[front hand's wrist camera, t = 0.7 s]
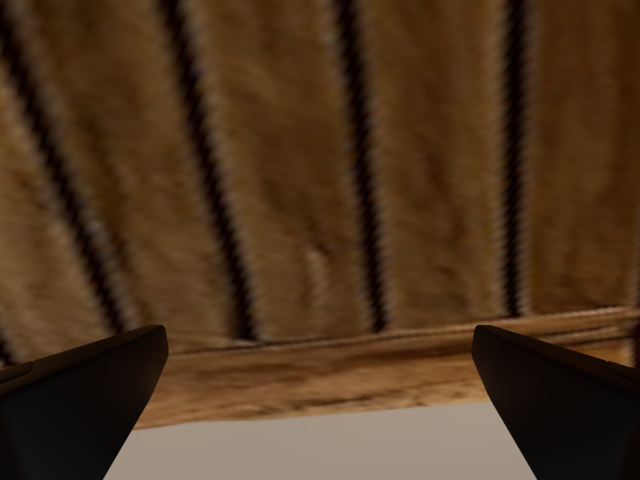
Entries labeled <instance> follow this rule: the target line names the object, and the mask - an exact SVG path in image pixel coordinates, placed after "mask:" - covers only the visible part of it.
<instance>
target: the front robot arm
mask: <svg viewBox="0 0 640 480" xmlns="http://www.w3.org/2000/svg"><path fill="white" fill-rule="evenodd" d="M168 353H169V350H168V343H167V336H166V330H165V327H164V326H163V325H148V326H145V327H142V328H138V329H135V330H132V331H129V332H125V333H122V334H119V335H116V336H112V337H109V338H106V339H103V340H99V341H96V342H93V343H90V344H86V345H83V346H80V347H77V348H73V349H70V350H67V351H64V352H60V353H57V354H54V355H51V356H47V357H44V358H41V359H38V360H35V361H34V362H32V361H29V362H26V363H23V364H20V365H16V366H13V367H9V368H6V369H3V370H0V480H103V479H104V477H105V475H106V473H107V472H108V470H109V468H110V467H111V465H112V463H113V461H114V460H115V458H116V456H117V455H118V453H119V451H120V449H121V448H122V446H123V444H124V443H125V441H126V439H127V437H128V436H129V434H130V432H131V431H132V429H133V427H134V425H135V424H136V422H137V420H138V419H139V417H140V415H141V413H142V412H143V410H144V408H145V407H146V405H147V403H148V401H149V400H150V398H151V396H152V394H153V391H154V389H155V387H156V384H157V382H158V380H159V377H160V375H161V373H162V370H163V368H164V366H165V363H166V361H167V358H168ZM471 353H472V358H473V361H474V363H475V366H476V368H477V370H478V373H479V375H480V377H481V380H482V382H483V385H484V387H485V389H486V391H487V394H488V396H489V398H490V400H491V401H492V403H493V405H494V407H495V408H496V410H497V412H498V413H499V415H500V417H501V419H502V420H503V422H504V424H505V425H506V427H507V429H508V431H509V432H510V434H511V436H512V437H513V439H514V441H515V443H516V444H517V446H518V448H519V449H520V451H521V453H522V455H523V456H524V458H525V460H526V461H527V463H528V465H529V467H530V468H531V470H532V472H533V473H534V475H535V477H536V479H537V480H640V370H637V369H634V368H631V367H627V366H624V365H620V364H617V363H614V362H611V361H608V362H606V361H605V360H602V359H599V358H596V357H593V356H589V355H586V354H583V353H580V352H576V351H573V350H570V349H567V348H563V347H560V346H557V345H554V344H550V343H547V342H544V341H541V340H537V339H534V338H531V337H528V336H524V335H521V334H518V333H515V332H511V331H508V330H505V329H502V328H498V327H495V326H492V325H477V326H476V327H475V330H474V336H473V343H472V350H471Z"/></svg>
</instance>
